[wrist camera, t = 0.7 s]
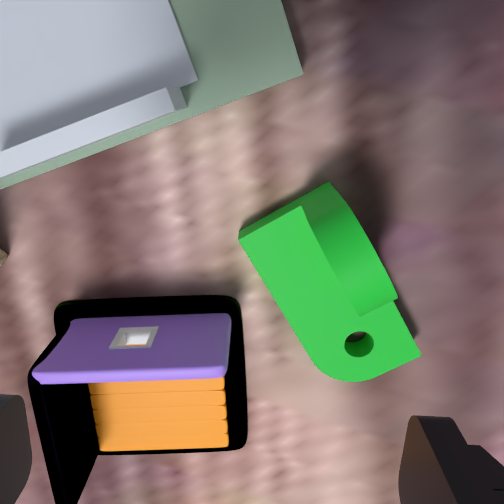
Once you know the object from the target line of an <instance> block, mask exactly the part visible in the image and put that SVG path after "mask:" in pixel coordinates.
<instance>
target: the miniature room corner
mask: <svg viewBox="0 0 504 504" xmlns="http://www.w3.org/2000/svg"><path fill="white" fill-rule="evenodd" d="M54 325H55V332H56V336H55V337H54V338H53V340H52V341H51V342H50V343H49V345H48V346H47V347H46V348H45V350H44V351H43V352H42V354H41V355H40V356H39V357H38V359H37V360H36V361H35V363H34V364H33V366H32V367H31V369H30V370H29V373H28V388H29V393H30V397H31V402H32V406H33V411H34V415H35V419H36V424H37V428H38V432H39V437H40V441H41V445H42V450H43V454H44V458H45V462H46V467H47V471H48V475H49V479H50V483H51V488H52V492H53V496H54V500H55V504H77V503H78V501H79V498H80V496H81V494H82V491H83V489H84V487H85V484H86V482H87V480H88V477H89V475H90V473H91V470H92V468H93V465H94V463H95V460H96V458H97V455H137V454H170V453H196V452H218V451H231V450H237V449H240V448H242V447H244V445H245V444H246V440H247V398H246V378H245V360H244V345H243V331H242V319H241V311H240V307H239V304H238V302H237V301H236V299H234V298H232V297H230V296H224V295H191V296H158V297H132V298H109V299H90V300H75V301H67V302H64V303H61V304H59V305H58V306H57V307H56V309H55V311H54Z"/></svg>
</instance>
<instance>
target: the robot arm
mask: <svg viewBox="0 0 504 504" xmlns="http://www.w3.org/2000/svg"><path fill="white" fill-rule="evenodd" d="M31 465H32V450H31V443H30V437H29V430H28V423H27V416H26V409H25V403H24V400H23V398H22V397H21V396H19V395H5V394H0V504H15V502H16V500H17V499H18V497H19V495H20V494H21V492H22V490H23V489H24V487H25V485H26V483H27V480H28V477H29V474H30V470H31ZM399 496H400V502H401V504H504V466H503V465H502V464H500V463H499V462H498V461H497V460H496V459H495V458H494V457H492V456H491V455H490V454H489V453H488V452H487V451H486V450H485V449H483V448H482V447H481V446H480V445H468V444H467V443H466V441H465V439H464V437H463V436H462V434H461V432H460V430H459V429H458V427H457V425H456V423H455V422H454V420H453V419H452V418H450V417H435V416H414V415H413V416H411V418H410V420H409V423H408V427H407V433H406V438H405V444H404V449H403V455H402V460H401V465H400V471H399Z"/></svg>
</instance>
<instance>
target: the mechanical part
mask: <svg viewBox="0 0 504 504" xmlns="http://www.w3.org/2000/svg"><path fill="white" fill-rule="evenodd" d="M238 240H239V242H240V244H241V245H242V247H243V249H244V250H245V252H246V254H247V255H248V257H249V258H250V260H251V262H252V263H253V265H254V267H255V268H256V270H257V272H258V273H259V275H260V276H261V278H262V280H263V281H264V283H265V285H266V286H267V288H268V289H269V291H270V293H271V294H272V296H273V298H274V299H275V301H276V303H277V304H278V306H279V307H280V309H281V311H282V312H283V314H284V316H285V317H286V319H287V320H288V322H289V324H290V325H291V327H292V329H293V330H294V332H295V334H296V335H297V337H298V338H299V340H300V342H301V343H302V345H303V347H304V348H305V350H306V351H307V353H308V355H309V356H310V358H311V360H312V361H313V363H314V364H315V365H316V366H317V368H318V369H320V370H321V371H322V372H323V373H325V374H326V375H328V376H330V377H332V378H334V379H337V380H341V381H348V382H358V381H364V380H369V379H372V378H374V377H377V376H379V375H381V374H383V373H385V372H388V371H390V370H392V369H394V368H396V367H398V366H400V365H402V364H405V363H407V362H409V361H411V360H413V359H415V358H417V357H420V356H422V355H421V353H420V351H419V349H418V347H417V345H416V344H415V342H414V340H413V338H412V336H411V334H410V332H409V330H408V328H407V326H406V324H405V322H404V321H403V319H402V317H401V315H400V313H399V311H398V309H397V307H396V305H395V303H394V301H393V300H395V299H397V298H398V296H397V294H396V291H395V289H394V287H393V284H392V282H391V280H390V278H389V276H388V274H387V272H386V270H385V268H384V266H383V265H382V263H381V261H380V259H379V257H378V255H377V253H376V251H375V250H374V248H373V246H372V244H371V242H370V241H369V239H368V237H367V235H366V234H365V232H364V230H363V228H362V227H361V225H360V223H359V222H358V220H357V218H356V217H355V215H354V213H353V212H352V210H351V209H350V207H349V206H348V204H347V203H346V201H345V200H344V199H343V198H342V197H341V195H340V194H339V193H338V192H337V190H336V189H335V188H334V187H333V186H332V184H331V183H330V182H329V181H328V182H327V183H325V184H323V185H321V186H319V187H318V188H316V189H314V190H312V191H310V192H309V193H307V194H305V195H303V196H301V197H300V198H298V199H296V200H294V201H292V202H291V203H289V204H287V205H285V206H283V207H282V208H280V209H278V210H276V211H274V212H272V213H271V214H269V215H267V216H265V217H263V218H262V219H260V220H258V221H256V222H254V223H253V224H251V225H249V226H247V227H245V228H244V229H242V230H240V231H239V237H238ZM358 331H363V332H366V335H365V337H364V338H363V339H361V340H360V341H358V342H347V341H345V340H346V338H347V337H348V336H349V335H350V334H352V333H354V332H358Z"/></svg>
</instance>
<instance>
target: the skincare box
mask: <svg viewBox="0 0 504 504" xmlns="http://www.w3.org/2000/svg"><path fill="white" fill-rule="evenodd" d="M6 258H7V254H6V253H5V252H4V251H3V250H1V249H0V266H1V265H2V264H3V262H4V261H5V259H6Z"/></svg>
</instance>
